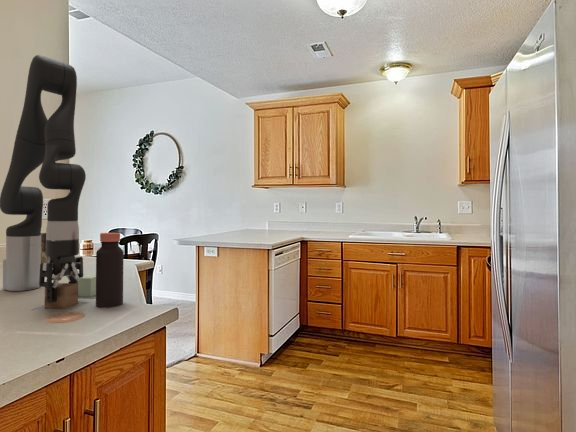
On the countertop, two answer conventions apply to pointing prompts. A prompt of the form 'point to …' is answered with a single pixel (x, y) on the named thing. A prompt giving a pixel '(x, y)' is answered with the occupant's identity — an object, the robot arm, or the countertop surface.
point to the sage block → (87, 286)
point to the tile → (42, 308)
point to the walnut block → (64, 296)
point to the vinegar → (109, 271)
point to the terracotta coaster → (65, 317)
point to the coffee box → (44, 249)
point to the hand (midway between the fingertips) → (62, 298)
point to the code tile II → (87, 297)
